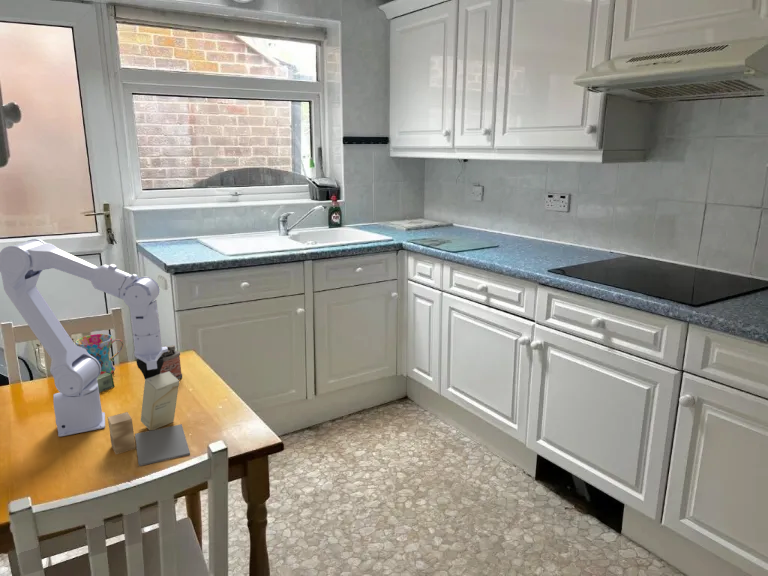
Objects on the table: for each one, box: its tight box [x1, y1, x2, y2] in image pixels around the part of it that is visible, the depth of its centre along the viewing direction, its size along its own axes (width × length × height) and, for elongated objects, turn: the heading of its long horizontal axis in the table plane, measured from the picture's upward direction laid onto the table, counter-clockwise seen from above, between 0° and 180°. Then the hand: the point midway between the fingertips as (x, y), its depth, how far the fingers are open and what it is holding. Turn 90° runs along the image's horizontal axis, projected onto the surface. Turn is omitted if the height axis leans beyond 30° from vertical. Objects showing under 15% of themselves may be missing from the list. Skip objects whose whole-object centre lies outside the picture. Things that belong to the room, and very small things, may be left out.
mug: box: [74, 333, 124, 375], centre depth 162 cm, size 12×9×11 cm
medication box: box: [97, 372, 116, 394], centre depth 150 cm, size 12×3×4 cm, turn 146°
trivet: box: [134, 423, 191, 467], centre depth 124 cm, size 10×14×1 cm
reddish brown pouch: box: [160, 344, 183, 380], centre depth 156 cm, size 8×3×10 cm, turn 144°
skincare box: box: [140, 371, 180, 431], centre depth 131 cm, size 6×4×12 cm
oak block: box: [107, 411, 137, 455], centre depth 122 cm, size 4×4×7 cm
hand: (153, 388), depth 131 cm, fingers closed
